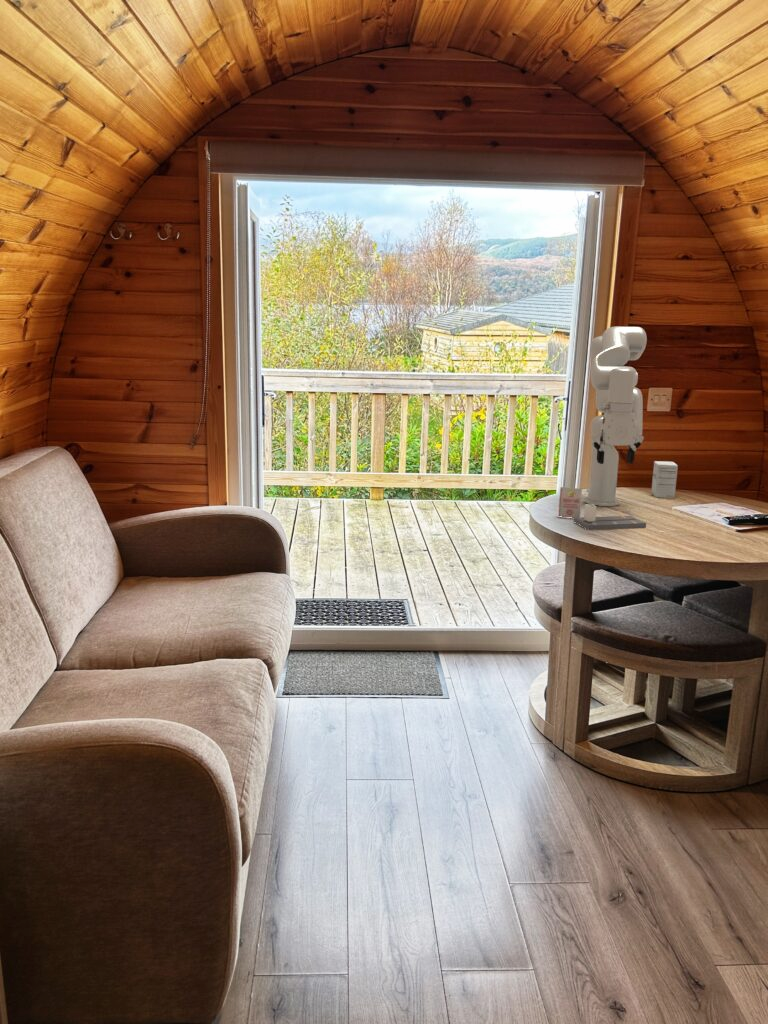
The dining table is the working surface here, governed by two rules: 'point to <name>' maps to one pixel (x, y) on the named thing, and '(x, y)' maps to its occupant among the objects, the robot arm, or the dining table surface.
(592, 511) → the fader knob
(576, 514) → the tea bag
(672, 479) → the supplement box
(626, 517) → the fader board
